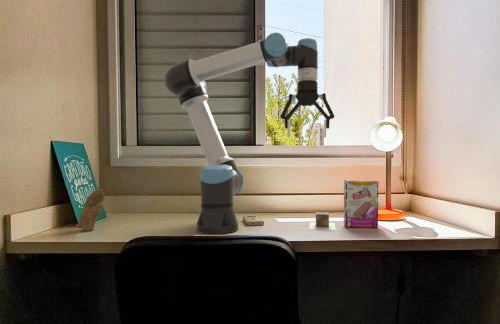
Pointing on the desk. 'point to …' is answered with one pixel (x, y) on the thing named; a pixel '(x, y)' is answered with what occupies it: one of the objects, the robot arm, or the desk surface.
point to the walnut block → (322, 219)
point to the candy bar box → (361, 204)
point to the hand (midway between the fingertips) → (306, 137)
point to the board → (332, 227)
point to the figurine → (91, 210)
